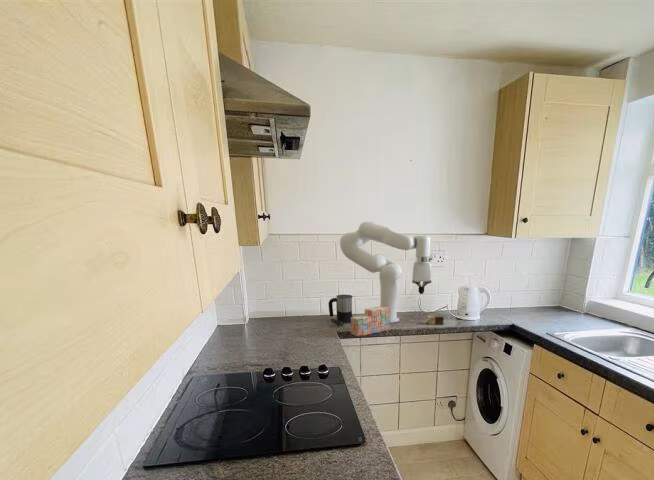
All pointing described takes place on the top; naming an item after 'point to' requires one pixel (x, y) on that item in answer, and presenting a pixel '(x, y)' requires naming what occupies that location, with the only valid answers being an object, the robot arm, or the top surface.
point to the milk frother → (341, 309)
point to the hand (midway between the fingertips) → (421, 293)
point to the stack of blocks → (371, 321)
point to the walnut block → (439, 319)
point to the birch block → (431, 320)
